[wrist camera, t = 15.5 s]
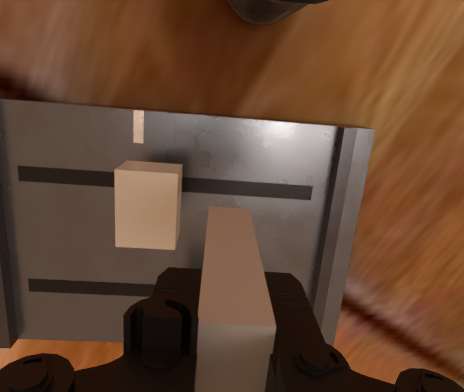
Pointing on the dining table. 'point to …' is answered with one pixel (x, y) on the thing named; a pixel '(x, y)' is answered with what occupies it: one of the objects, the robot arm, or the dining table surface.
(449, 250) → the dining table surface
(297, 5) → the beverage cup
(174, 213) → the block
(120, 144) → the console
